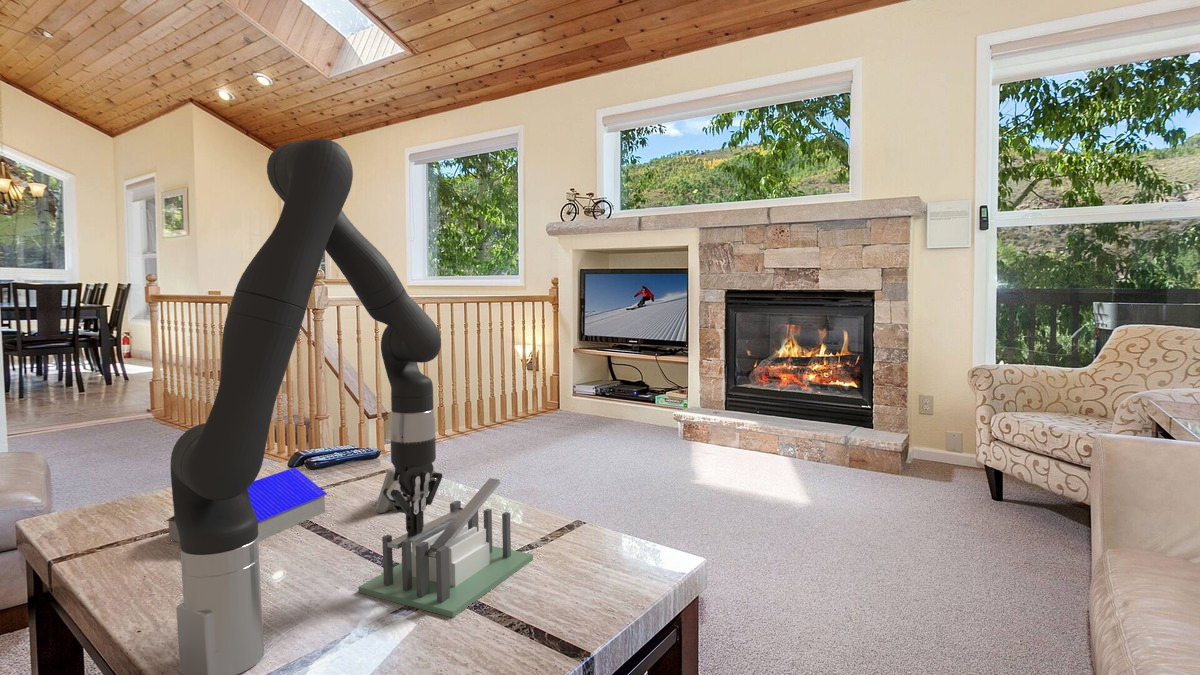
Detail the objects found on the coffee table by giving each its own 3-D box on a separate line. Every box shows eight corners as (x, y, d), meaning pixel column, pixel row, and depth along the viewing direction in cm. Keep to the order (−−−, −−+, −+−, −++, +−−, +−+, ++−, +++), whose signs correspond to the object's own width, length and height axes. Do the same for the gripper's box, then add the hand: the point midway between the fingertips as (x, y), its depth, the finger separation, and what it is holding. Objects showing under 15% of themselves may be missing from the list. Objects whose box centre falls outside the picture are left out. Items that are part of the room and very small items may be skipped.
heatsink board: (453, 617, 102) (451, 558, 101) (358, 592, 110) (356, 537, 110) (532, 559, 123) (532, 510, 123) (448, 541, 132) (447, 495, 131)
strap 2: (437, 559, 105) (435, 555, 105) (425, 557, 106) (424, 553, 106) (500, 483, 121) (499, 479, 121) (490, 481, 122) (489, 477, 122)
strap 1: (398, 549, 108) (397, 544, 108) (387, 547, 109) (386, 541, 109) (470, 513, 126) (470, 508, 126) (460, 511, 127) (460, 507, 127)
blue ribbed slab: (328, 513, 150) (326, 471, 149) (233, 555, 127) (231, 505, 126) (266, 504, 156) (264, 463, 156) (166, 543, 133) (163, 495, 132)
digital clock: (408, 491, 164) (407, 450, 164) (438, 495, 161) (437, 453, 160) (364, 512, 149) (362, 467, 149) (396, 517, 146) (394, 471, 145)
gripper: (403, 446, 105) (405, 550, 106) (454, 430, 117) (456, 524, 118) (368, 441, 108) (370, 542, 110) (421, 426, 120) (423, 517, 121)
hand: (415, 532), depth 114 cm, fingers closed
